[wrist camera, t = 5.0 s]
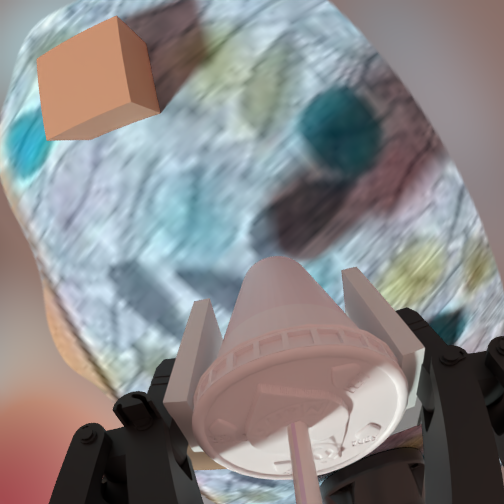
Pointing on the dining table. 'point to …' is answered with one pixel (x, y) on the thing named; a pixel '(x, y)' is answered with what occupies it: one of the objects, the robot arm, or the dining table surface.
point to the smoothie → (295, 384)
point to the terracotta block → (96, 83)
